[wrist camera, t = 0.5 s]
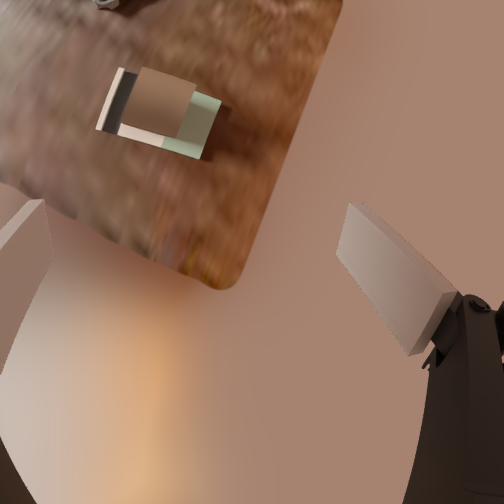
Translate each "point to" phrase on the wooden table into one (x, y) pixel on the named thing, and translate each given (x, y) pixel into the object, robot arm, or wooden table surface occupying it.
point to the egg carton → (106, 4)
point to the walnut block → (158, 102)
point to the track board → (185, 142)
